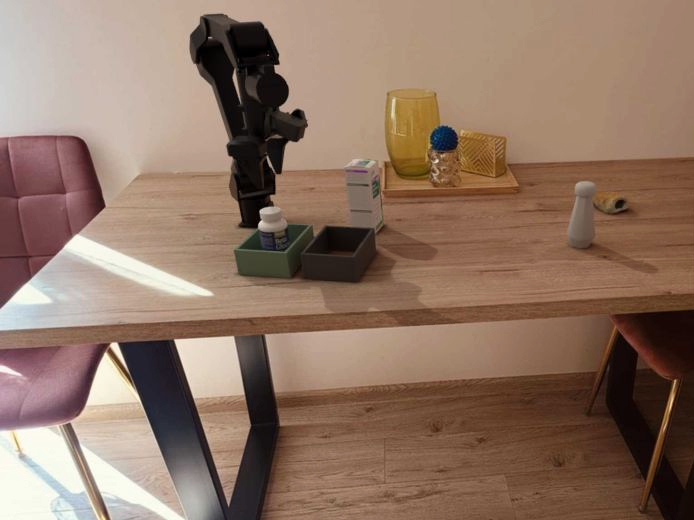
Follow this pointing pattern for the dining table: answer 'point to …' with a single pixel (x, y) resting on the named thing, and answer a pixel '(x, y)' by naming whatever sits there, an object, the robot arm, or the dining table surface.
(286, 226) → the pill bottle
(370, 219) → the syrup box
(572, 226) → the salt shaker
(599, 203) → the pastry
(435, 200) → the dining table surface
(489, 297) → the dining table surface
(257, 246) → the green bin
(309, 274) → the charcoal crate
